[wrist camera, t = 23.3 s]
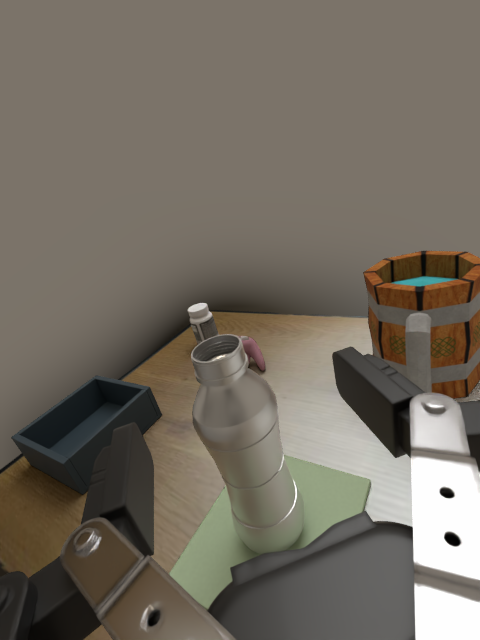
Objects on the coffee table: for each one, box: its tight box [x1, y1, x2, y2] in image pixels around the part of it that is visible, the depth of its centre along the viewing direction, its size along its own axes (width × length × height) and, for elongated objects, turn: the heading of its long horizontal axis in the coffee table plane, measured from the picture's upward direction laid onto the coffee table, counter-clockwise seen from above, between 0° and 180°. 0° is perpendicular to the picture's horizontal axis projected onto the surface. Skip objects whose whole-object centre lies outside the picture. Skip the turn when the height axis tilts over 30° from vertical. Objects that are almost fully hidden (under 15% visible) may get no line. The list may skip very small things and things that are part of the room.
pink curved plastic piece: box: [238, 336, 265, 371], centre depth 57 cm, size 10×5×7 cm, turn 103°
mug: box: [363, 251, 480, 398], centre depth 41 cm, size 20×14×15 cm
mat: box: [169, 455, 371, 611], centre depth 31 cm, size 16×14×1 cm
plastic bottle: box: [191, 334, 305, 554], centre depth 27 cm, size 6×7×20 cm
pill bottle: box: [188, 303, 219, 344], centre depth 68 cm, size 5×5×8 cm
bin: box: [12, 376, 162, 495], centre depth 49 cm, size 15×14×6 cm
